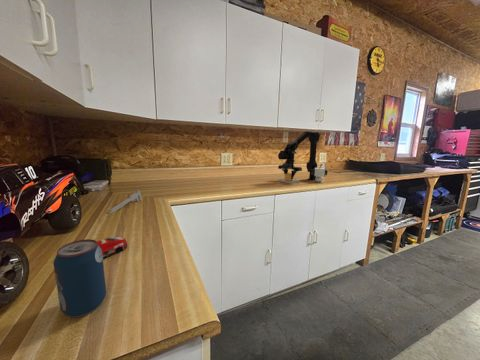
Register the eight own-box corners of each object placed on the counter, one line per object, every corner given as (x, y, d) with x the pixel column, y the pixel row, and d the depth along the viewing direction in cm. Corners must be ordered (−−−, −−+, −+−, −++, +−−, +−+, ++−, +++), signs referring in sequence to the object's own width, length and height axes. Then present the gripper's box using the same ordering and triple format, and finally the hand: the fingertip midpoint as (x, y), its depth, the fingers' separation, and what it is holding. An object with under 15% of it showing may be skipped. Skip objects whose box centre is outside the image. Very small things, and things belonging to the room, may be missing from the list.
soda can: (114, 292, 43) (109, 238, 40) (91, 321, 36) (83, 257, 34) (80, 291, 43) (73, 237, 40) (50, 320, 36) (39, 257, 34)
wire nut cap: (287, 179, 171) (288, 172, 170) (293, 180, 168) (293, 173, 167) (284, 179, 168) (284, 173, 167) (289, 180, 164) (290, 173, 163)
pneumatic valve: (326, 182, 169) (328, 167, 166) (311, 181, 171) (312, 167, 169) (325, 181, 174) (326, 166, 171) (310, 180, 176) (311, 166, 174)
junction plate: (286, 179, 177) (286, 174, 176) (300, 181, 168) (300, 176, 167) (277, 181, 168) (277, 175, 167) (291, 183, 159) (291, 178, 158)
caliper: (139, 200, 106) (138, 188, 105) (141, 200, 106) (140, 188, 105) (107, 214, 86) (106, 199, 85) (109, 214, 86) (108, 199, 85)
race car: (75, 273, 49) (72, 257, 48) (66, 264, 52) (64, 250, 51) (130, 249, 60) (129, 236, 59) (121, 243, 63) (119, 231, 62)
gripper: (274, 158, 166) (273, 177, 169) (295, 160, 153) (293, 181, 156) (282, 158, 174) (281, 176, 176) (303, 160, 161) (301, 179, 163)
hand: (288, 178), depth 168 cm, fingers closed on wire nut cap, 5 cm apart
